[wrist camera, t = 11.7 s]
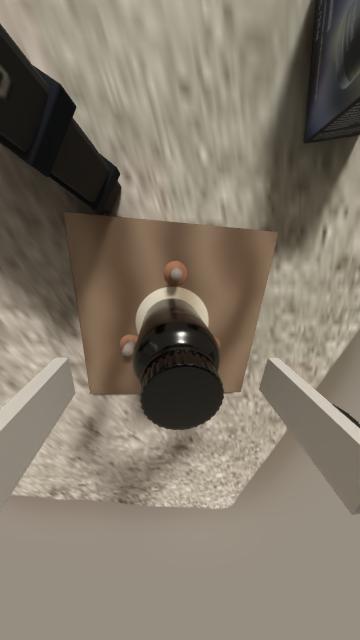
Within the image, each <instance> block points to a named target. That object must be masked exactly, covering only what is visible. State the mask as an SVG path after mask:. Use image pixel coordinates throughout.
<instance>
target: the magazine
mask: <svg viewBox="0 0 360 640" xmlns="http://www.w3.org/2000/svg"><path fill="white" fill-rule="evenodd" d="M75 110H76V105H75V104H74V102H73V101H72V100H71V98H70V97H69V95H68V94H67V93H66V91H65V90H64V88H63V87H62V85H61V84H60V83H58V82H57V81H55V80H54V79H52V78H51V77H49V76H48V75H46V74H45V73H43V72H42V71H40V70H39V69H37V68H36V67H35V66H33V65H32V64H31V63H30V62H29V60H28V59H27V58H26V56H25V55H24V54H23V52H22V51H21V50H20V49H19V47H18V46H17V45H16V43H15V42H14V41H13V39H12V38H11V37H10V36H9V34H8V33H7V32H6V30H5V29H4V28H3V27H2V25H1V24H0V143H1V144H3V145H4V146H5V147H7V148H8V149H10V150H11V151H12V152H14V153H15V154H16V155H18V156H19V157H20V158H22V159H23V160H24V161H26V162H27V163H28V164H30V165H31V166H32V167H34V168H35V169H37V170H38V171H40V172H41V173H42V174H44V175H45V176H47V177H50V178H52V179H53V180H54V181H56V182H57V183H58V184H60V185H61V186H62V187H64V188H65V189H66V190H68V191H69V192H71V193H72V194H73V195H75V196H76V197H77V198H79V199H80V200H81V201H83V202H84V203H85V204H87V205H88V206H90V207H91V208H92V209H94V210H95V211H96V212H98V213H99V214H101V212H102V211H103V212H104V213H107V214H108V213H109V212H110V210H111V208H112V206H113V204H114V202H115V200H116V198H117V197H118V195H119V193H120V191H121V186H120V184H119V182H118V181H117V180H118V178H119V176H120V173H119V171H118V169H117V167H116V166H114V165H113V164H112V163H111V162H109V161H108V160H107V159H106V158H104V157H103V156H102V155H101V154H99V153H98V151H97V150H96V148H95V147H94V145H93V144H92V143H91V141H90V140H89V139H88V137H87V136H86V135H85V133H84V132H83V131H82V129H81V128H80V127H79V125H78V124H77V123H76V121H75V120H74V119H73V115H74V112H75Z"/></svg>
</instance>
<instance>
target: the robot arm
mask: <svg viewBox="0 0 360 640" xmlns="http://www.w3.org/2000/svg"><path fill="white" fill-rule="evenodd" d="M259 390H260V391H261V392H262V394H263V395H264V396H265V398H266V399H267V400H268V402H269V403H270V404H271V406H272V407H273V409H274V410H275V411H276V413H277V414H278V415H279V417H280V418H281V419H282V421H283V422H284V423H285V425H286V426H287V427H288V429H289V430H290V432H291V433H292V434H293V435H294V437H295V438H296V440H297V441H298V442H299V444H300V445H301V446H302V448H303V449H304V450H305V452H306V453H307V455H308V456H309V457H310V458H311V460H312V461H313V463H314V464H315V465H316V467H317V468H318V469H319V471H320V472H321V473H322V475H323V476H324V477H325V479H326V480H327V482H328V483H329V484H330V486H331V487H332V488H333V490H334V491H335V492H336V494H337V495H338V496H339V498H340V499H341V500H342V502H343V503H344V505H345V506H346V507H347V509H348V510H349V511H350V512H351V514H352V515H354V514H360V424H359V423H358V422H357V421H356V420H355V419H353V417H351V416H350V415H349V414H348V413H346V412H345V411H343V410H341V409H340V408H338V407H337V406H335V405H333V404H331V403H329V402H328V401H327V400H326V399H325V398H324V397H323V396H321V395H320V394H319V393H318V392H317V391H316V390H315V389H313V388H312V387H311V386H310V385H309V384H308V383H306V382H305V381H304V380H303V379H302V378H301V377H300V376H298V375H297V374H296V373H295V372H294V371H293V370H291V369H290V368H289V367H288V366H287V365H286V364H284V363H283V362H282V361H281V360H280V359H279V358H268V360H267V364H266V367H265V371H264V374H263V377H262V381H261V384H260V388H259ZM74 395H75V389H74V383H73V378H72V373H71V368H70V362H69V358H54V359H53V360H52V361H51V362H50V363H49V364H48V365H47V366H46V367H45V368H44V369H43V370H42V371H41V372H39V373H38V374H37V375H36V376H35V377H34V378H33V379H32V380H31V381H30V382H29V383H28V384H27V385H26V386H25V387H23V388H22V389H21V390H20V391H19V392H18V393H17V394H16V395H15V396H14V397H13V398H12V399H11V400H10V401H8V402H7V403H6V404H5V405H4V406H3V407H2V408H1V409H0V510H1V509H2V507H3V506H4V504H5V503H6V501H7V499H8V498H9V496H10V495H11V493H12V492H13V490H14V488H15V487H16V485H17V484H18V482H19V481H20V479H21V477H22V476H23V474H24V473H25V471H26V470H27V468H28V467H29V465H30V463H31V462H32V460H33V459H34V457H35V456H36V454H37V452H38V451H39V449H40V448H41V446H42V445H43V443H44V442H45V440H46V438H47V437H48V435H49V434H50V432H51V431H52V429H53V427H54V426H55V424H56V423H57V421H58V420H59V418H60V417H61V415H62V413H63V412H64V410H65V409H66V407H67V406H68V404H69V402H70V401H71V399H72V398H73V396H74Z"/></svg>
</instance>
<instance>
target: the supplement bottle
mask: <svg viewBox="0 0 360 640" xmlns="http://www.w3.org/2000/svg"><path fill="white" fill-rule="evenodd" d="M220 359H221V356H220V349H219V346H218V343H217V341H216V339H215V338H214V336H213V334H212V333H211V332H210V330H209V329H208V327H207V326H206V324H205V323H204V322H203V320H202V319H201V317H200V316H199V314H198V313H197V312H196V310H195V309H194V308H193V307H192V306H191V305H190V304H189V303H187V302H185V301H183V300H181V299H176V298H168V299H163V300H161V301H158V302H157V303H155V304H154V305H153V306H151V307H150V309H149V310H148V311H147V313H146V315H145V317H144V320H143V323H142V326H141V329H140V332H139V335H138V339H137V342H136V345H135V348H134V352H133V359H132V364H133V370H134V373H135V376H136V378H137V380H138V382H139V383H140V384H141V396H140V402H141V408H142V409H143V410H144V414H145V415H146V416H147V417H148V419H149V420H151V421H152V422H153V423H154V424H157V425H158V426H159V427H164V428H166V429H172V430H183V429H190V428H192V427H197V426H198V425H201V424H204V423H205V422H206V421H208V420H210V419H211V417H213V416H214V415H215V414H216V412H217V411H218V410H219V407H220V406H221V404H222V400H223V398H224V395H223V393H224V388H223V383H222V381H221V379H220V377H219V374H218V370H219V367H220Z"/></svg>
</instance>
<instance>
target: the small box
mask: <svg viewBox="0 0 360 640" xmlns="http://www.w3.org/2000/svg"><path fill="white" fill-rule="evenodd" d="M357 135H360V0H317V5H316V16H315V28H314V39H313V50H312V61H311V72H310V83H309V93H308V104H307V115H306V126H305V136H304V143H310V142H318V141H324V140H332V139H337V138H344V137H351V136H357Z"/></svg>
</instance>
